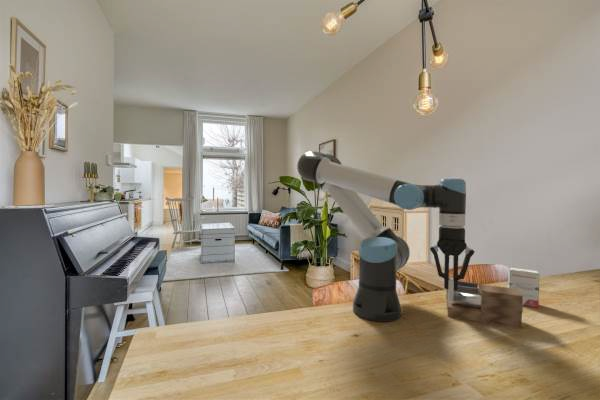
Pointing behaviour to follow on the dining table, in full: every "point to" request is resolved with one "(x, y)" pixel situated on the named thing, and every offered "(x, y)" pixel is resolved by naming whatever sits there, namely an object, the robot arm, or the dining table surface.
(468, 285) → the v block
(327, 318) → the dining table surface
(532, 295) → the ink box
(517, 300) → the wooden shaft support
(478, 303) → the axle
